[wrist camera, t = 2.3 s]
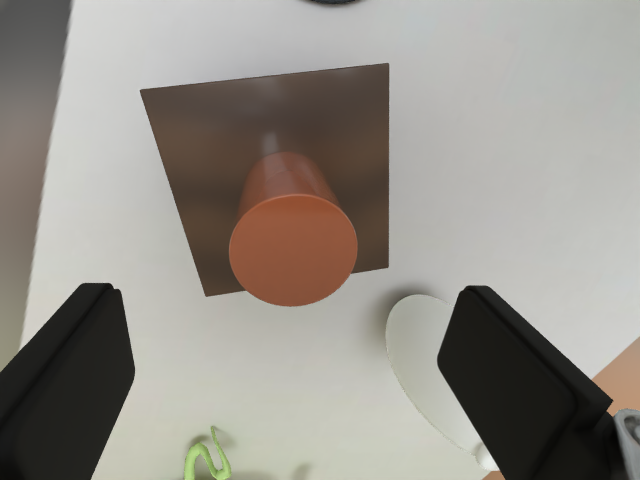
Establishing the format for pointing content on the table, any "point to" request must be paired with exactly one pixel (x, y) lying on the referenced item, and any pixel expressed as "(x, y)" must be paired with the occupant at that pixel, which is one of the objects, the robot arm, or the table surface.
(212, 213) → the stand
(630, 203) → the table surface
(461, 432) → the sauce bottle
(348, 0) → the coaster
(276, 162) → the canister
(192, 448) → the figurine
